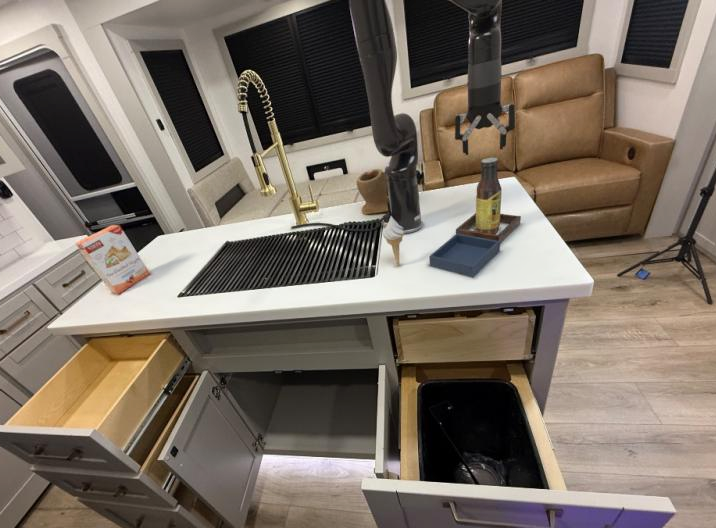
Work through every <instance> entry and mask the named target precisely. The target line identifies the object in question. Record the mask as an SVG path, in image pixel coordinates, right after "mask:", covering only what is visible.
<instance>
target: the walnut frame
mask: <svg viewBox="0 0 716 528" xmlns="http://www.w3.org/2000/svg"><path fill="white" fill-rule="evenodd" d="M521 218H522V216H521V215H516V214H515V215H514V214H506V213H500V224H506V225H507V226H505V228H503V229H502V230H501V231H500V232H499V233H498V234H496V233H494V234H489V233H483V232H477V231H476V230H470V228H472V227H473V226H474V225H476V212H475V213H473V215H471V216H470V217H469V218H467V220H465V221H464V222H463V223H461V224H460V225H459V226H457V228H455V235H456V234H462V235H468V236H473V237H479V238H484V239H490V240H496V241H500V244H501V243H502V242H503V241H505V240H506V239H507V238H508V237H509V236H510V235H511V234H512V233H513V232H514V231H515V230H516V229H517V228H518V227H519V226H520V225H521V221H522V219H521Z"/></svg>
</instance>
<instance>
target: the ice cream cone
mask: <svg viewBox="0 0 716 528" xmlns="http://www.w3.org/2000/svg"><path fill="white" fill-rule="evenodd" d="M403 229H404V228H402V227H401V226H399V224H398V223H397V222H396V221H395V220H394V219H393V218H392V216H391V217H390V220H389V222H388V223H386V225H385V228H384V230H383V231H382V235H383V238H384V239H385V240H386V243H387V244H388V245H390V246H391V248H392V253H393V256H394V260H395V264H396V266H397V267H399V266H400V244H401V243H402V241H403V239H404V238H403V237H404V235H405V234H404V231H403Z"/></svg>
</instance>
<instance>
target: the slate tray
mask: <svg viewBox="0 0 716 528" xmlns="http://www.w3.org/2000/svg"><path fill="white" fill-rule="evenodd" d="M500 252H501V243H500V241H496V240H490V239H484V238H479V237H473V236H468V235H462V234H456V233H455V234H454V235H453V236H451V238H449V239H448V240H447V241H446V242H444V243H443V244H442V245H441V246H440V247H438V248H437V249H435V251H434V252H432V253H431V254H429V256H428V259H429V267H432V268H435V269H439V270H443V271H447V272H450V273H453V274H454V273H455V274H459V275H461V276H466V277H469V278H474V277H475V276H477V274H479V272H481V271H482V270H483V269H484V268H485V267H486V266H487V265H488V264H489V263H490V262H491V261H492V260H493V259H494V258H495V257H496V256H497V255H498V254H499V253H500Z"/></svg>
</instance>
